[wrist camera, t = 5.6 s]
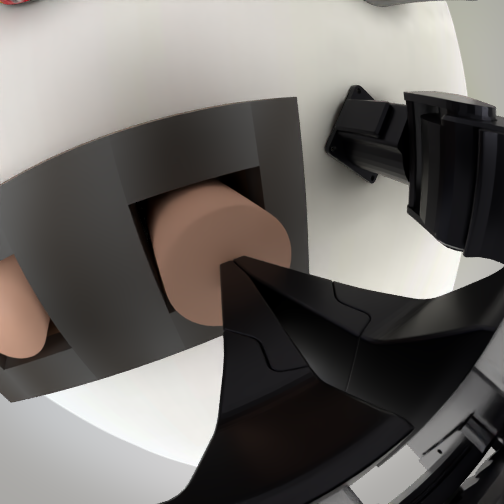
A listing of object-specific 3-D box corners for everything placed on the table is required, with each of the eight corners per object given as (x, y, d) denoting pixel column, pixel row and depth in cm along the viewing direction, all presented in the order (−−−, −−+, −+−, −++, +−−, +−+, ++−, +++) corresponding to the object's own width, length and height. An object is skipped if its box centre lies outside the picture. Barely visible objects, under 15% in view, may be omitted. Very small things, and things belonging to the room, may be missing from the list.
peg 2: (218, 159, 14) (285, 189, 8) (232, 234, 16) (294, 297, 11) (134, 184, 12) (143, 234, 7) (159, 260, 14) (187, 342, 9)
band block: (231, 103, 15) (296, 96, 9) (253, 243, 20) (309, 296, 15) (-37, 209, 9) (-93, 258, 4) (25, 328, 15) (11, 402, 9)
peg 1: (47, 211, 12) (11, 264, 7) (75, 273, 15) (63, 345, 9) (-4, 237, 11) (-47, 296, 6) (25, 294, 13) (3, 365, 8)
